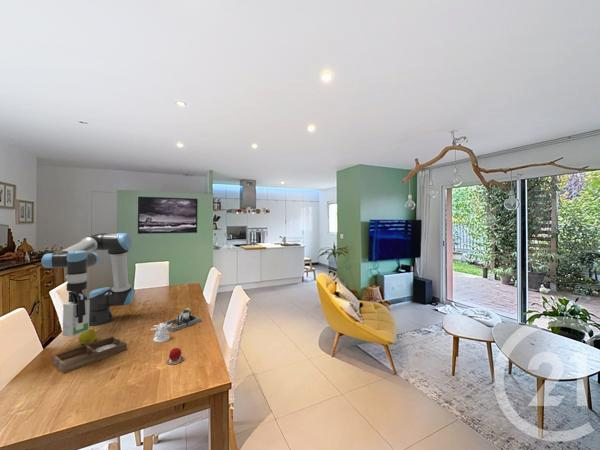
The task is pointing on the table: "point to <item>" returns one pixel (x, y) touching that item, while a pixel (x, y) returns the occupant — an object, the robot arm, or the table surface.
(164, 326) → the figurine
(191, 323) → the valet frame
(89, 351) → the divided wooden tray
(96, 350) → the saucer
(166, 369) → the table surface
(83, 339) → the lemon
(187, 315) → the camera
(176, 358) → the red push button
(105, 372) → the table surface
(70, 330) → the skincare box
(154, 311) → the table surface
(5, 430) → the table surface
